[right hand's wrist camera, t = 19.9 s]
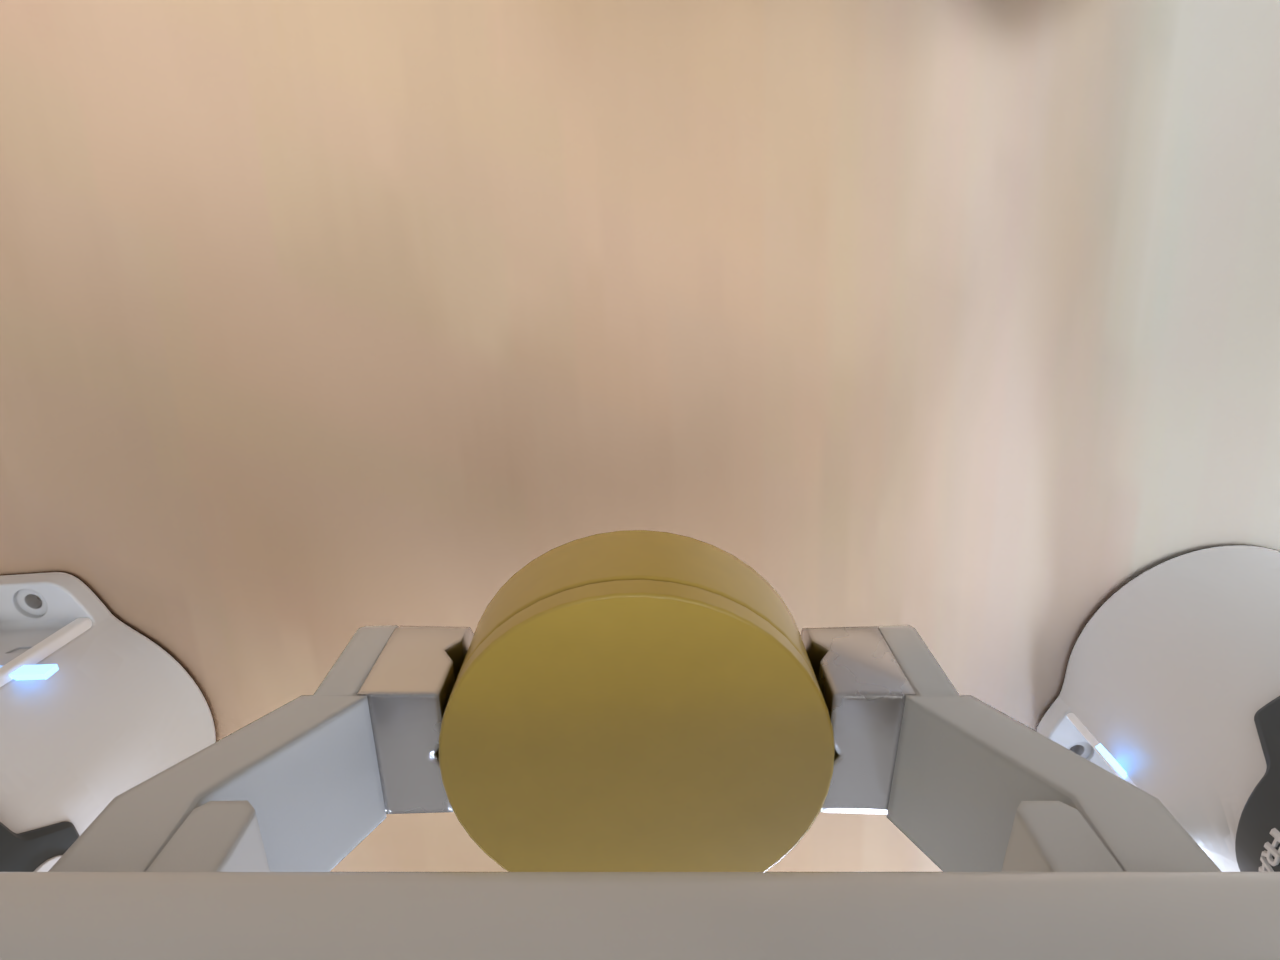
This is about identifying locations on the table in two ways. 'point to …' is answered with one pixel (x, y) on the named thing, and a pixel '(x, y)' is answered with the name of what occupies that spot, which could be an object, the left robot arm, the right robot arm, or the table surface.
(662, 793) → the lid
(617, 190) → the table surface
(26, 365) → the table surface
